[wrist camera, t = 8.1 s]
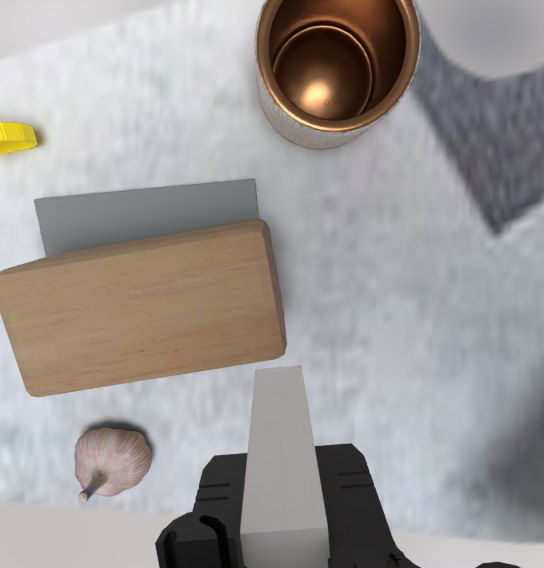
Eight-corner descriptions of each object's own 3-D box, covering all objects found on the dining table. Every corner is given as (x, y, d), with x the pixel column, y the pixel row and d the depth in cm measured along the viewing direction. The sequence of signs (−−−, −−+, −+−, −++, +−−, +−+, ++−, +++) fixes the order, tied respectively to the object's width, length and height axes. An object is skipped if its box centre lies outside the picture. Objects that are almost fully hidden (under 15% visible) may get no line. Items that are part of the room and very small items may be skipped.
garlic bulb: (69, 440, 43) (24, 495, 35) (120, 400, 42) (85, 448, 34) (119, 488, 44) (86, 552, 36) (169, 451, 43) (146, 508, 35)
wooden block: (285, 319, 39) (84, 352, 40) (267, 216, 37) (55, 253, 38) (289, 362, 29) (24, 404, 30) (265, 225, 27) (-20, 275, 28)
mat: (254, 179, 37) (254, 178, 36) (270, 344, 40) (270, 346, 40) (37, 199, 37) (33, 199, 37) (72, 361, 41) (69, 363, 40)
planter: (331, -17, 33) (354, -97, 24) (407, 93, 35) (457, 57, 26) (231, 75, 35) (217, 33, 26) (310, 175, 37) (323, 170, 28)
